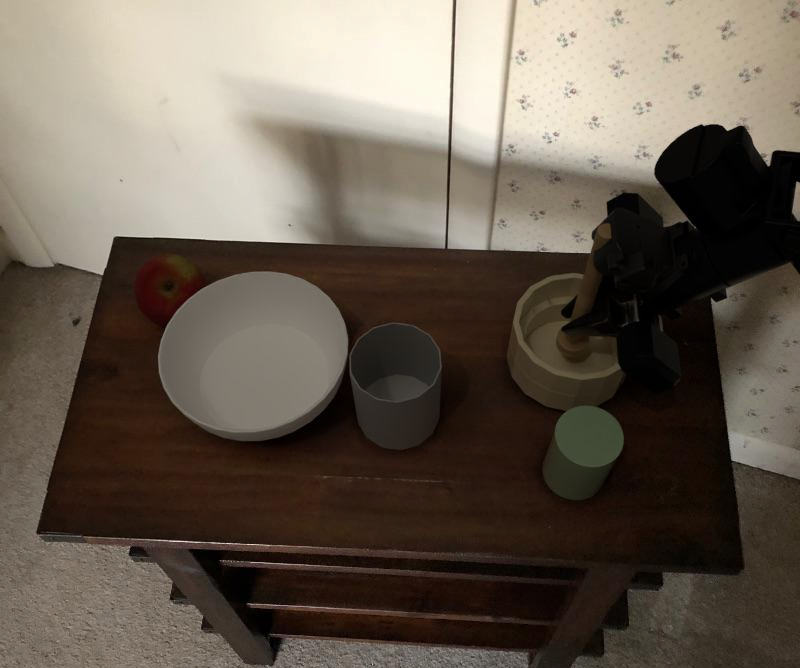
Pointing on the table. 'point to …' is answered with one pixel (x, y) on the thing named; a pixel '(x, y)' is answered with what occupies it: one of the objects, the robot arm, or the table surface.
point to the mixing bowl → (545, 365)
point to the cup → (396, 385)
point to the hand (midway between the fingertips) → (563, 323)
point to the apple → (166, 286)
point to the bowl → (254, 355)
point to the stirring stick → (584, 298)
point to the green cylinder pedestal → (582, 452)
